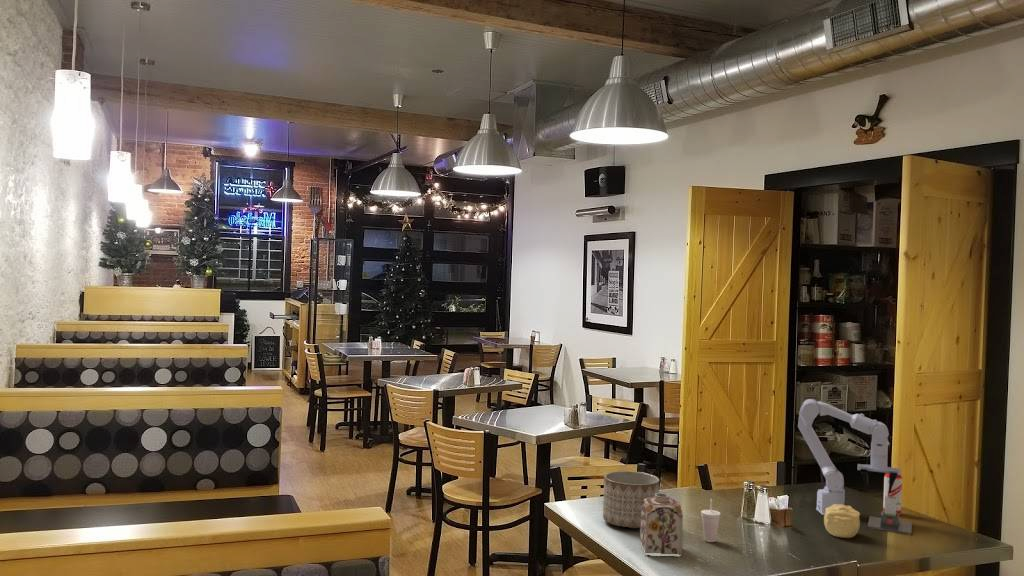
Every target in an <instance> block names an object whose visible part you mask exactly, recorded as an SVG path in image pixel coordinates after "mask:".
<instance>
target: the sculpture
mask: <svg viewBox="0 0 1024 576" xmlns="http://www.w3.org/2000/svg"><path fill="white" fill-rule="evenodd" d="M825 511H826V513H825V515H823V524H824V527H825V530H826V531H827V532H828V534H830V535H831V536H833V537H837V538H843V539H852V538H853V537H855V536H856V535H857V534H858V532H859V529H860V525H861V519H860V515H861V513H860V512H859V511H858V510H856V509H855V508H853V507H852V506H851V505H845V504H844V505H843V504H841V505H837V504H833V505H832V506H830V507H828V508H826V509H825Z"/></svg>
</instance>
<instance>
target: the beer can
mask: <svg viewBox="0 0 1024 576" xmlns="http://www.w3.org/2000/svg"><path fill="white" fill-rule="evenodd" d="M889 475H890V473H884V477H883V499H882V500H883V502H882V503H883V504H882V511H885V496H892V497H896V513H899V515H901V514H902V499H903V498H902V497H903V496H902V494H903V493H902V491H903V489H902V488H903V476H902V475H901V472H900V475H897V477H896V479H895V481H894V483H893V486H892V489H891V493H889Z"/></svg>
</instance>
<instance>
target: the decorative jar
mask: <svg viewBox="0 0 1024 576" xmlns="http://www.w3.org/2000/svg"><path fill="white" fill-rule="evenodd" d="M683 515H684V514H683V509H682V506H681V503H680V501H679V500H677V499H674V498H671V497H670V495H669V494H667V493H664V492H659V493H656V494H655V497H649V498H646V499H644V500H643V502H642V504H641V525H640V528H639V535H640V536H639V542H640V541H641V543H642V546H643V548H644V550H645V553H661V554H679V555H683V518H684V516H683Z"/></svg>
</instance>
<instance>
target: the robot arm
mask: <svg viewBox="0 0 1024 576" xmlns="http://www.w3.org/2000/svg"><path fill="white" fill-rule="evenodd" d="M818 415H819V416H820V417H822V416H823V417H824V416H827V415H828V416H831V417H833V418H836V419H838V420H841V421H844V422H846V423H849V425H850V428H852V429H855V430H857V431H860V432H862V433H864V434H866V435H871V442H870V464H861V463H857V471H860V472H859V473H860V475H861V477H862V479H863V483H864V485H865V491H867V492H868V491H869V472H875V473H884V474H886V473H890V475H889V493H891V489H892V486H893V483H894V481H895V479H896V477H897V475H900V473H901V471H902V470H901V468H897V467H891V466H888V451H889V450H888V449H889V444H888V441H889V439H888V437H889V436H890V433H889V429H888V427H887V425H886V424H885V423H884V422H882V421H878V420H877V419H871V418H869V417H867V416H865V414H863V413H855V414H851V413H848V412H847V411H844V410H842V409H839V408H838V407H836V406H834V405H831V404H829V403H826V402H824V401H820V400H818V401H817V400H816V399H814V398H807V399H805V400H804V401H803V402H802V404H801V407H800V410H799V413H798V423H797V428H798V429H799V431H800V433H801V435H802V437H803V439H804V441H805V443H806V444H807V446H808V447H809V449H810V451H811V453H812V455H813V457H814V459H815V461H816V462H817V464H818V466H819V467H820V469H821V472H822V474H823V477H824V478H825V479H824V480H825V485H824V487H823V488H822V489H821V488H820V489H817V492H816V508H815V510H816V511H817V512H818V513H820V514H821V515H822V516H825V513H826V511H825V509H826V508H828V507H830V506H832V505H833V504H837V505H841V504H843V505H845V497H846V495H845V494H846V489H845V488H844V487H845V480H844V478H845V477H844V475H843V473H842V472H841V471H840V470H838V469H837V467H836V465H835V464H834V463H833V461H832V460H831V458H830V457H829V455H828V454H829V453H827V451H826V449H825V448H824V445H823V444H822V442H821V441H820V438H819V436H818V435H817V433H816V432H815V430H814V428H813V426H812V425H813V422H814V420H815V418H817V416H818Z"/></svg>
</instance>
